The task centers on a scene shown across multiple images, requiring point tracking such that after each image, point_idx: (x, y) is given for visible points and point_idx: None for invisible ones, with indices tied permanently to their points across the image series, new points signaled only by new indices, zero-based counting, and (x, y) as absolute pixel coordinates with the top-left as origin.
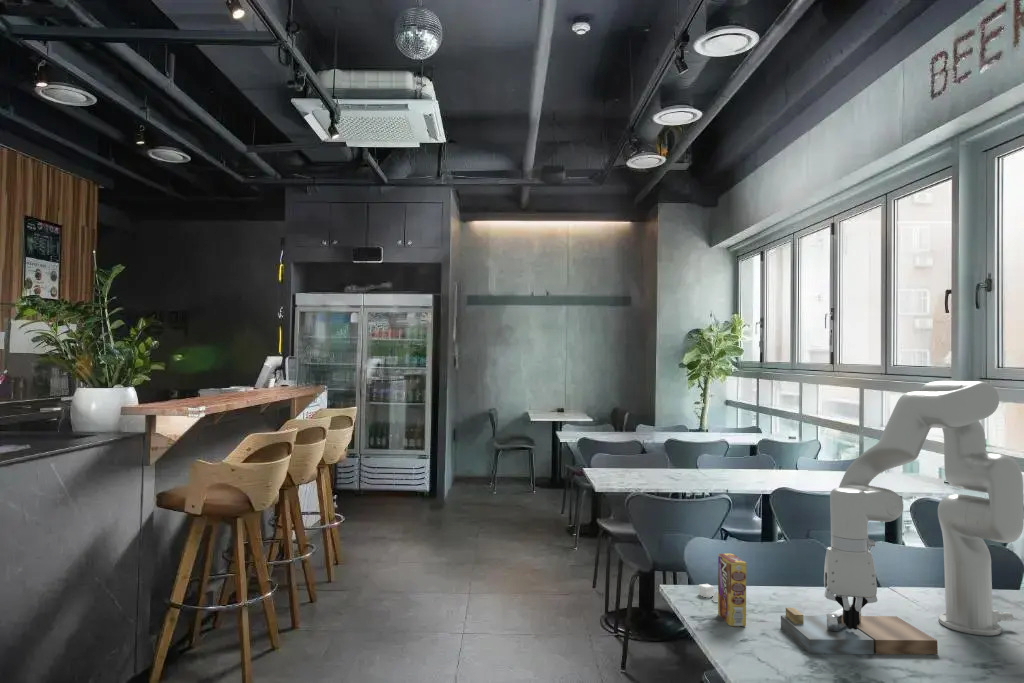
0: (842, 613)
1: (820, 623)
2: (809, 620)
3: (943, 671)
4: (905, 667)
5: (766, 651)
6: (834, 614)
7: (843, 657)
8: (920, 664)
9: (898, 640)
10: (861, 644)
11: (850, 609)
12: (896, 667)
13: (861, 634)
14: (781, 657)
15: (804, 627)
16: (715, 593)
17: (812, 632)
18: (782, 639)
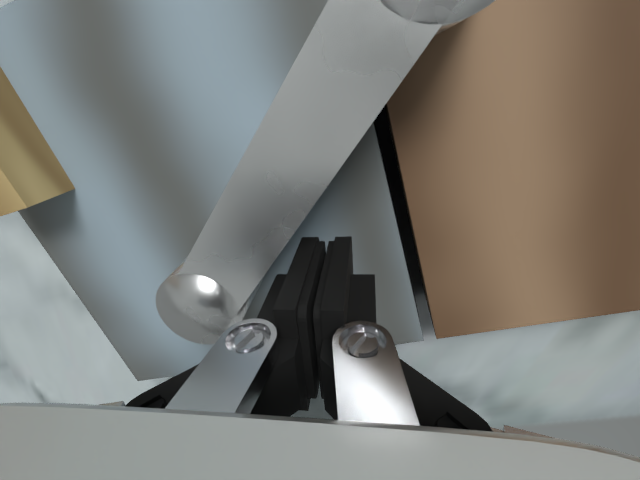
0: (269, 250)
1: (164, 152)
2: (94, 109)
3: (635, 397)
4: (491, 387)
5: (40, 346)
6: (208, 287)
7: None
8: (577, 355)
9: (575, 318)
10: None
11: (303, 392)
12: (454, 391)
13: (383, 280)
14: (92, 378)
15: (92, 250)
16: None
17: (138, 307)
18: None
